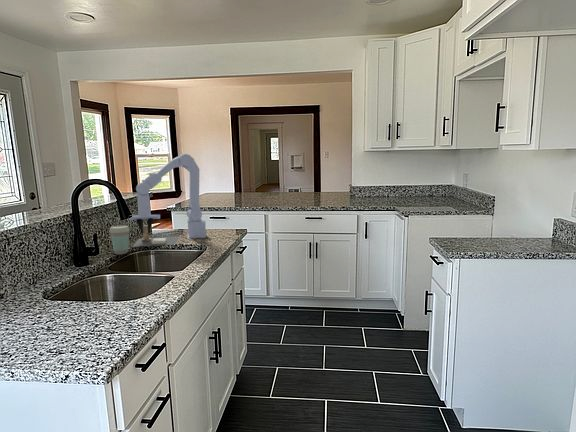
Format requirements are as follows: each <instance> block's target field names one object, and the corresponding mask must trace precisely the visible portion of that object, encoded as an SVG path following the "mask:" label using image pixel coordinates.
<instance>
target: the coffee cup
mask: <svg viewBox="0 0 576 432" xmlns="http://www.w3.org/2000/svg"><path fill="white" fill-rule="evenodd" d="M109 234H110V239H111V245H112V248H113V253H114V255H126V254H128V253H129V248H130V247H129V244H130V227H129V225H112V226H111V227H110V228H109Z"/></svg>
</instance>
